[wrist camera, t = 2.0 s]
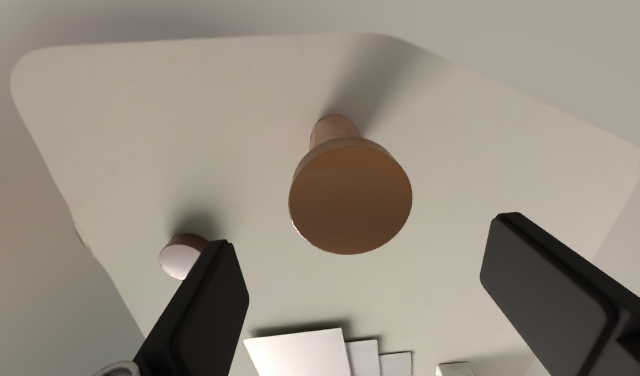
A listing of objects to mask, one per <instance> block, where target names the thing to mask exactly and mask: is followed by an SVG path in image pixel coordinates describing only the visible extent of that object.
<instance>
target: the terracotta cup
mask: <svg viewBox="0 0 640 376" xmlns="http://www.w3.org/2000/svg"><path fill="white" fill-rule="evenodd" d="M339 137H360V138H363V137H362V136H361V134H360V133H359V131H358V130H357V128H356V127H355V125H354V124H353V122H352V121H351V120H349V119H348V118H346V117H344V116H342V115H329V116H326V117H324V118H322V119H321V120H320V121H318V123H317V124H316V125H315V126H314V128H313V131H312V134H311V137H310V147H309V151H311V150H312V149H313V148H314V147H316V146H318V145H319V144H321V143H323V142H325V141H328V140H331V139H334V138H339Z"/></svg>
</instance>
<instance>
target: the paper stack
mask: <svg viewBox="0 0 640 376" xmlns="http://www.w3.org/2000/svg"><path fill="white" fill-rule="evenodd" d="M243 342H244V344H245V346H246V348H247V350H248V352H249V354H250V356H251V358H252V360H253V362H254V364H255V366H256V369H257V371H258V373H259V375H260V376H411V352H405V353H396V354H387V355H378V348H377V339H374V340H366V341H357V342H348V343H344V339H343V334H342V329H341V328H335V329H326V330H318V331H309V332H301V333H293V334H284V335H276V336H267V337H259V338H250V339H243Z"/></svg>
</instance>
